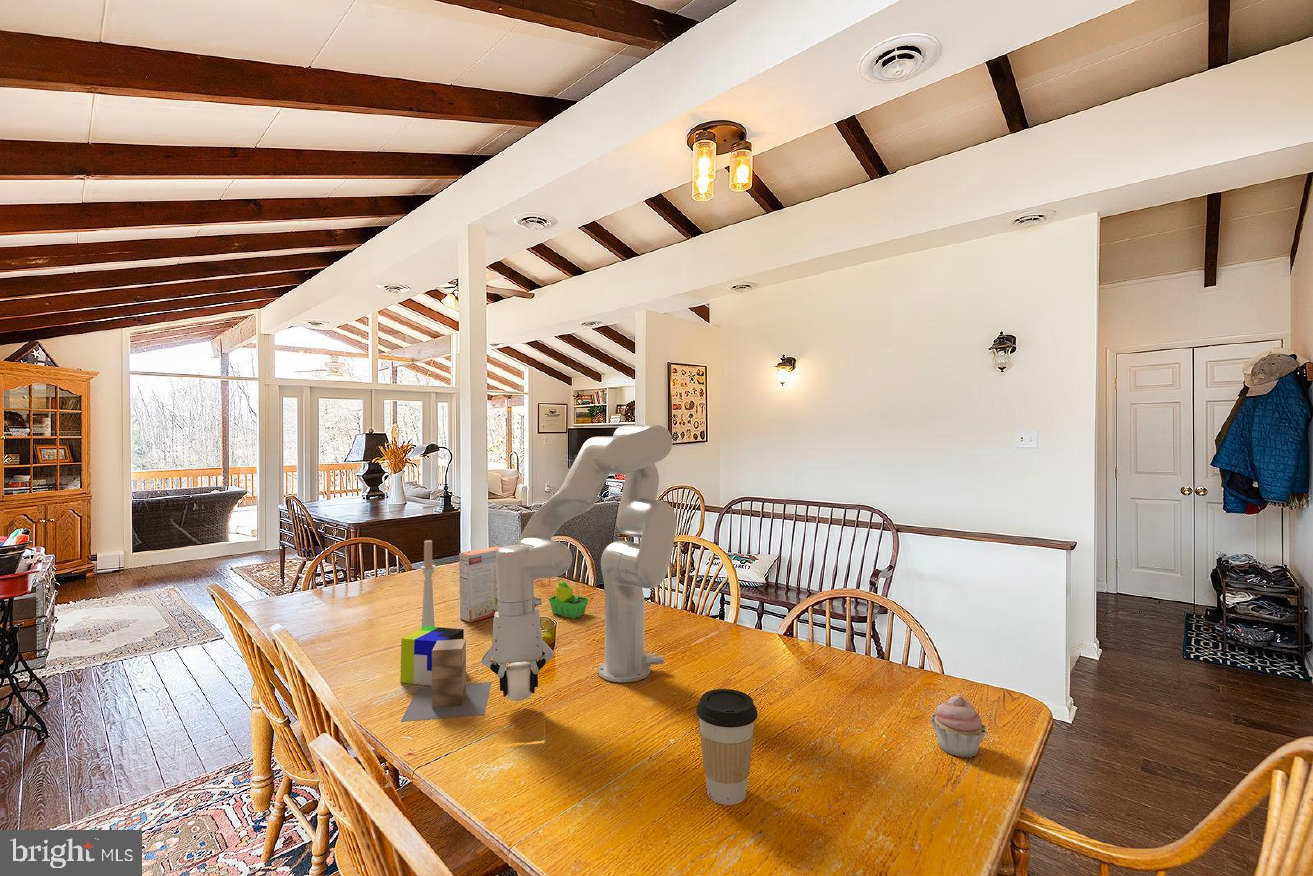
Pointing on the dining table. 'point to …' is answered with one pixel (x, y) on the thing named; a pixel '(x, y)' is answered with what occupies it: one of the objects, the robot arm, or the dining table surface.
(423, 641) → the puzzle toy
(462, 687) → the block
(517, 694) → the ceramic cylinder
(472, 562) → the cracker box
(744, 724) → the coffee cup
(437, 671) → the tower top
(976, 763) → the dining table surface
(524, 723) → the dining table surface
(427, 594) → the candlestick
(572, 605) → the fruit basket
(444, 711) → the mat
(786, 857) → the dining table surface
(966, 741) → the cupcake
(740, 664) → the dining table surface
